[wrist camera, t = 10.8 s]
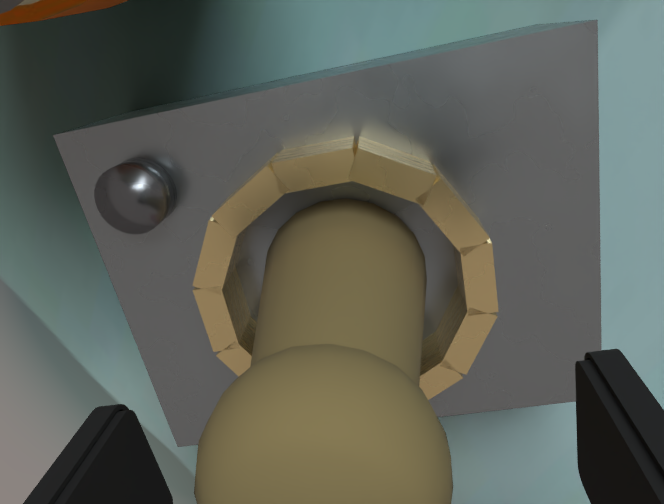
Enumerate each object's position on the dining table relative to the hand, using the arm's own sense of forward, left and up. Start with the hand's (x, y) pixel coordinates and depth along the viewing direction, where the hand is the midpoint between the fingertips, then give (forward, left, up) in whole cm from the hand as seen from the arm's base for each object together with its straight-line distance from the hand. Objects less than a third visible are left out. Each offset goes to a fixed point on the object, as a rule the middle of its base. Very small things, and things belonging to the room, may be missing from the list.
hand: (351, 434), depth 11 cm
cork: (0, -1, -9) cm, 9 cm away
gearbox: (0, -1, -15) cm, 15 cm away
